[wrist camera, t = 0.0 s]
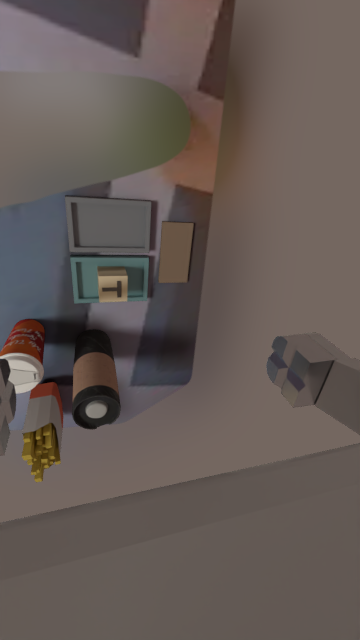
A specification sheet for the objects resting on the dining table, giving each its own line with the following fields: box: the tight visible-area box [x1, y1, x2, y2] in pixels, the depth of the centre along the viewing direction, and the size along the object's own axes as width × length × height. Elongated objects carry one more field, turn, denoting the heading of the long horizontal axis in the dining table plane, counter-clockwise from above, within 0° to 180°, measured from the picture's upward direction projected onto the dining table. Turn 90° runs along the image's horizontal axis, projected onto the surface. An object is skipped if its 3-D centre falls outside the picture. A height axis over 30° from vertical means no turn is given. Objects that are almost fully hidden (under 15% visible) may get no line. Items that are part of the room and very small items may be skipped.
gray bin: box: [65, 195, 151, 253], centre depth 52 cm, size 9×14×2 cm, turn 84°
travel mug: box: [72, 330, 120, 429], centre depth 55 cm, size 8×8×20 cm
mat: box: [158, 221, 194, 283], centre depth 58 cm, size 12×6×1 cm, turn 174°
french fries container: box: [22, 382, 63, 482], centre depth 59 cm, size 5×11×18 cm, turn 0°
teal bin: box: [70, 255, 149, 303], centre depth 57 cm, size 9×14×2 cm, turn 84°
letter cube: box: [97, 266, 128, 302], centre depth 55 cm, size 5×5×5 cm
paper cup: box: [0, 319, 45, 393], centre depth 52 cm, size 8×8×14 cm
